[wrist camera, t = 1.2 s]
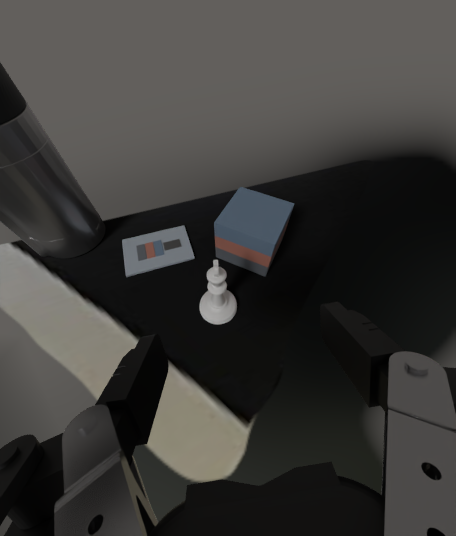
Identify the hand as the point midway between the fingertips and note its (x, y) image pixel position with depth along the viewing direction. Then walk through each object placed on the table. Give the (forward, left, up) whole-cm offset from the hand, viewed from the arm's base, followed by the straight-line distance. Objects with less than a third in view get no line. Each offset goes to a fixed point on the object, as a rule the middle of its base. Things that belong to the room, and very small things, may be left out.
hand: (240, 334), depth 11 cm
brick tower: (+9, +16, -16) cm, 25 cm away
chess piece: (+1, +9, -16) cm, 18 cm away
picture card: (-5, +21, -16) cm, 27 cm away
